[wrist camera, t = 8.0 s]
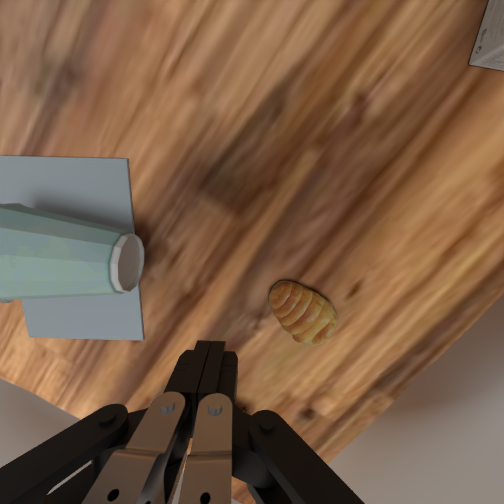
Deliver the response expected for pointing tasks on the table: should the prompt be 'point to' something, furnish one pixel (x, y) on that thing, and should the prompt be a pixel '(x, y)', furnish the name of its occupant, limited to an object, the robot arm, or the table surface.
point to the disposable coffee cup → (64, 256)
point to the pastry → (302, 312)
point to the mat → (84, 208)
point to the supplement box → (490, 38)
